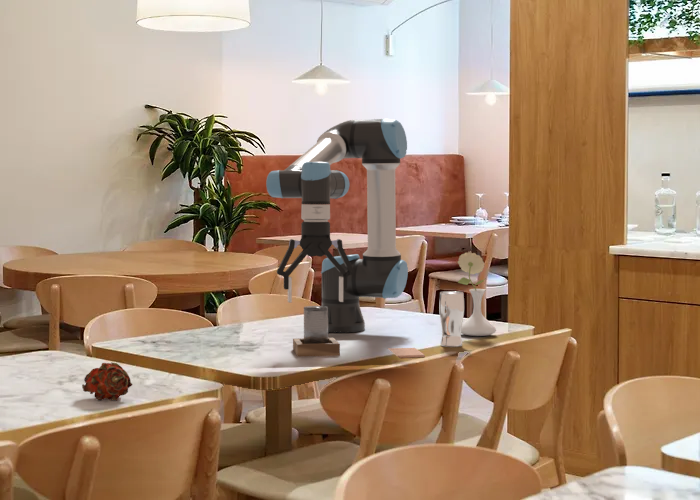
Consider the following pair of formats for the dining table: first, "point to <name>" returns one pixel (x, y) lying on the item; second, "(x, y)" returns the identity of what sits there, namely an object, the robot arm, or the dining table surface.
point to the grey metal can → (315, 324)
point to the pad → (406, 352)
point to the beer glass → (451, 317)
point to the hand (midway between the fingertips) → (315, 301)
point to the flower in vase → (474, 297)
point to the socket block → (316, 348)
